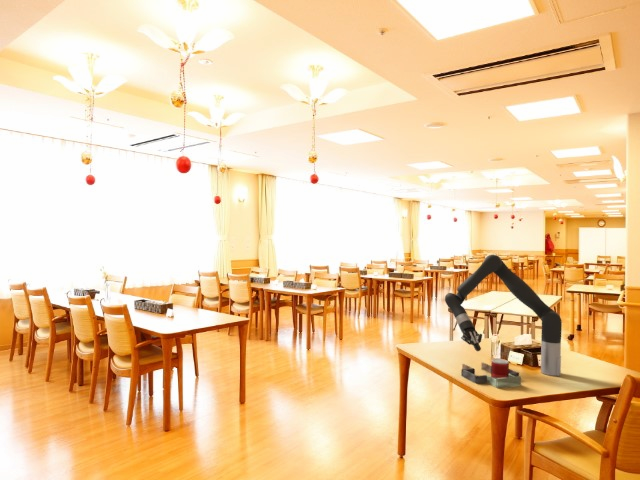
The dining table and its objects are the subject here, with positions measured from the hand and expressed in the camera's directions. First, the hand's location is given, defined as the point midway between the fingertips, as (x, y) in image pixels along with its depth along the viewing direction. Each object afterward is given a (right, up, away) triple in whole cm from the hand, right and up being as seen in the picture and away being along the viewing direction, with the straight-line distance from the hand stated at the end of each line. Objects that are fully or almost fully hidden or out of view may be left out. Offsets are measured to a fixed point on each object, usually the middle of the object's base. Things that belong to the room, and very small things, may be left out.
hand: (478, 350), depth 227 cm
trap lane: (+2, -12, -9) cm, 15 cm away
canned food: (+5, -12, -16) cm, 21 cm away
